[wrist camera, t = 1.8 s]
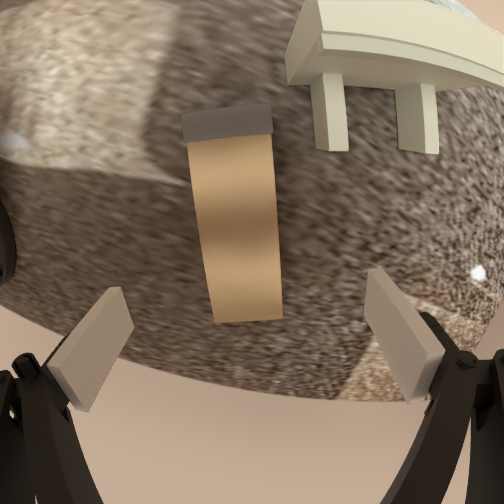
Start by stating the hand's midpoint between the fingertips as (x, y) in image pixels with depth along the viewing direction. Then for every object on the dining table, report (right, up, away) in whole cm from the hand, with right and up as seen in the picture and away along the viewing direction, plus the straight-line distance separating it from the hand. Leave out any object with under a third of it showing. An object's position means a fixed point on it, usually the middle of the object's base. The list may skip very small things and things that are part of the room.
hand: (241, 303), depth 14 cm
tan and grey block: (0, +7, +12) cm, 14 cm away
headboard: (+11, +16, +8) cm, 21 cm away
